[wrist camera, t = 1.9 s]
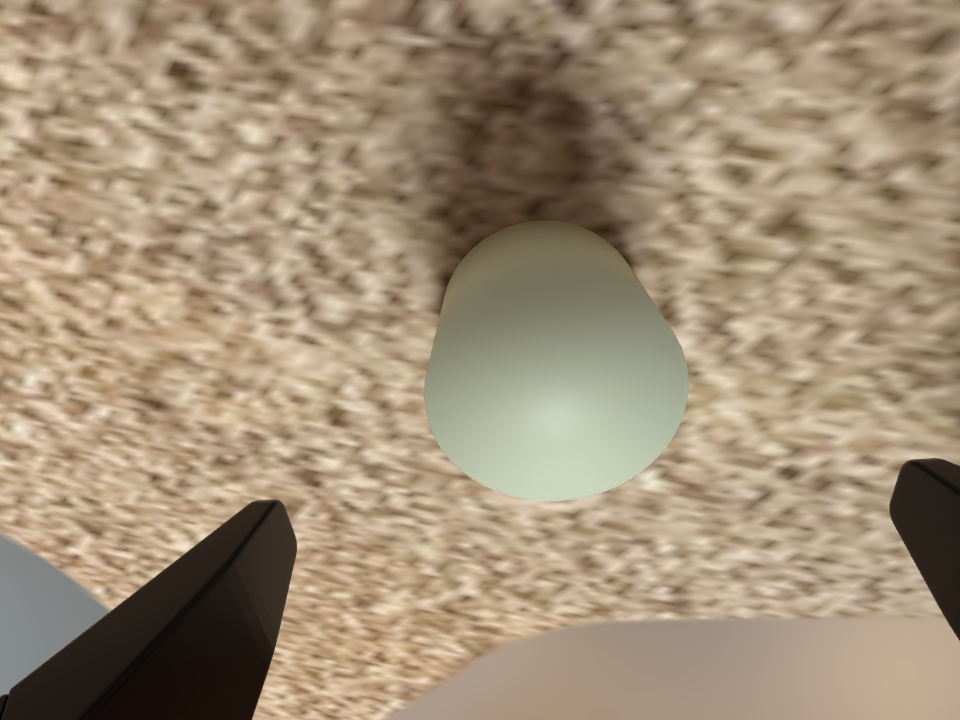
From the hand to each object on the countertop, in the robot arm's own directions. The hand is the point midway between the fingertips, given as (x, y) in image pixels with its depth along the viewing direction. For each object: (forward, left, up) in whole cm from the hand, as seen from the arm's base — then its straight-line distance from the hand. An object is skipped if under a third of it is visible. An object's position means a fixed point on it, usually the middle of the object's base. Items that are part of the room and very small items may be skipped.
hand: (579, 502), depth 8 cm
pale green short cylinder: (0, 0, -7) cm, 7 cm away
